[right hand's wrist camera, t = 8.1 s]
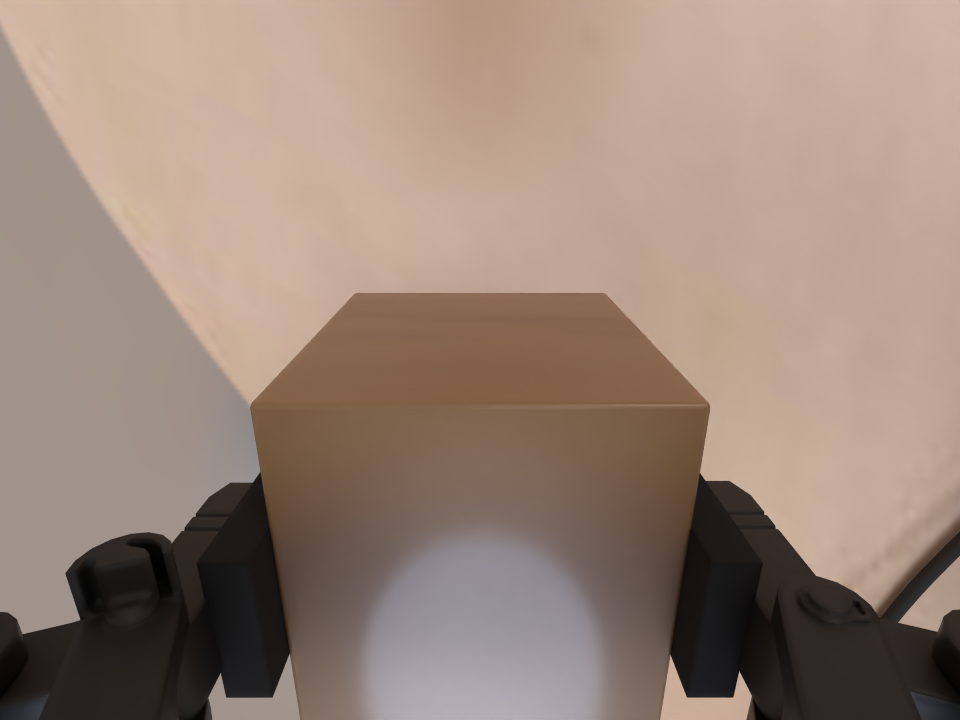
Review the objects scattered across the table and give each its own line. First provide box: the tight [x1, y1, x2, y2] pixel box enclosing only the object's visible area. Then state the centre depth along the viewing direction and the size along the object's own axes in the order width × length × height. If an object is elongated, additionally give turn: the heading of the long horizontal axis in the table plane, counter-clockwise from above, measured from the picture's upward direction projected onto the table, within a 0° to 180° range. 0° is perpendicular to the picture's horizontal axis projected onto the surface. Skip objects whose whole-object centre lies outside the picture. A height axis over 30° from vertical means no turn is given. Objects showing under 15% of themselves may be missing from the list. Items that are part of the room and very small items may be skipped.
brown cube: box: [250, 293, 710, 720], centre depth 12 cm, size 7×7×7 cm
